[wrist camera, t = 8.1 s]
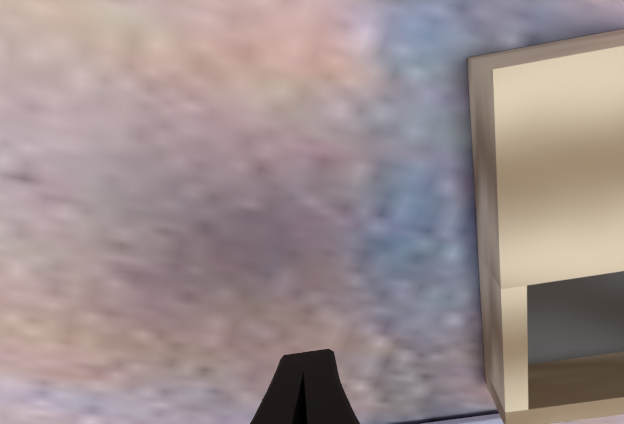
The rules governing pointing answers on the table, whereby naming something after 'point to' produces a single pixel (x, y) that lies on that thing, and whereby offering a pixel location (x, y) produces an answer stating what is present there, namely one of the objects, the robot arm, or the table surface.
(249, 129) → the table surface
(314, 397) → the robot arm
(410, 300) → the table surface
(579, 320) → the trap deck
